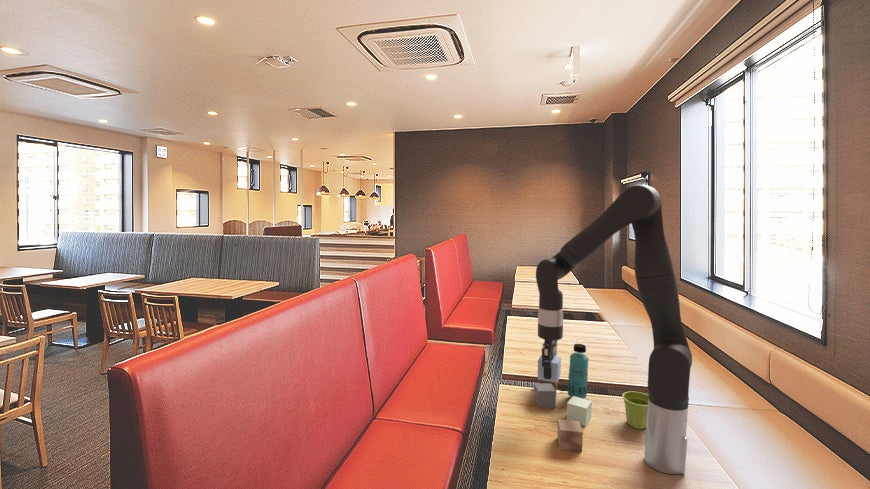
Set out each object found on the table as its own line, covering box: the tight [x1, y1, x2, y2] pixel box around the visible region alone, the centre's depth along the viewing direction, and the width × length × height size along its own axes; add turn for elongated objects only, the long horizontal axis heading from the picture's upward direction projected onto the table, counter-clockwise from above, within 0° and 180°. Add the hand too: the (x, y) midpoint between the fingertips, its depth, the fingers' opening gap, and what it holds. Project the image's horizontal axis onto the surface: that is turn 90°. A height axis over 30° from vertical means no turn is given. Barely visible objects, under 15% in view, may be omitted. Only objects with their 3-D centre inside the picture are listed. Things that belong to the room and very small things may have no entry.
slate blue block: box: [537, 353, 562, 384], centre depth 130 cm, size 6×6×6 cm
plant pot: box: [621, 390, 648, 430], centre depth 130 cm, size 9×9×9 cm
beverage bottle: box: [567, 343, 590, 399], centre depth 146 cm, size 6×7×20 cm
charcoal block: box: [533, 382, 557, 409], centre depth 143 cm, size 6×6×6 cm
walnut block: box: [556, 418, 584, 453], centre depth 119 cm, size 6×6×6 cm
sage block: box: [566, 396, 593, 427], centre depth 133 cm, size 6×6×6 cm
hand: (549, 374), depth 130 cm, fingers closed on slate blue block, 6 cm apart
